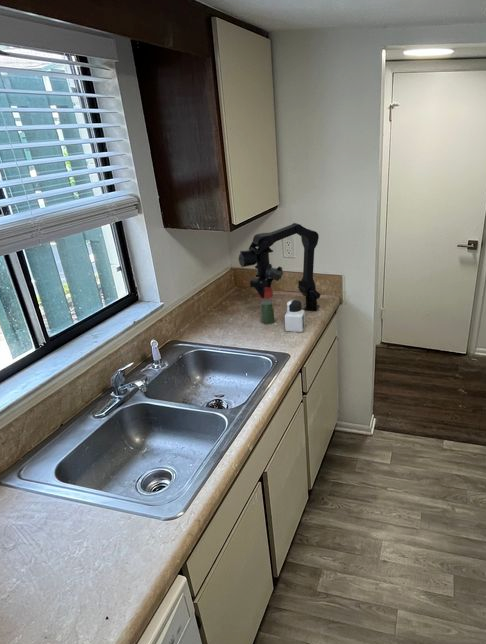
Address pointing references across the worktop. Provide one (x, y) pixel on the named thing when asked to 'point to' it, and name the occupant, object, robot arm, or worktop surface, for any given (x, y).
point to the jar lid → (267, 293)
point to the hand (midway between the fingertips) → (265, 295)
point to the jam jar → (267, 312)
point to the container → (294, 317)
